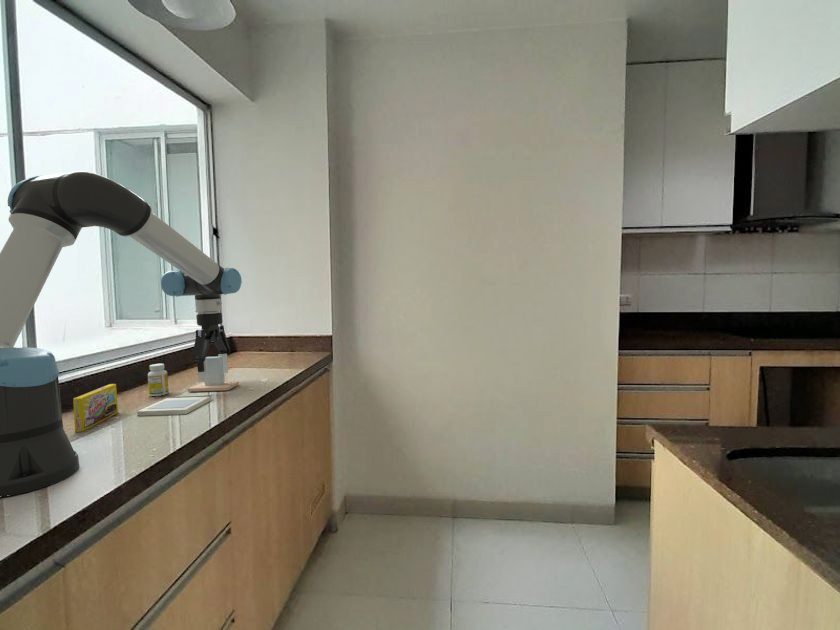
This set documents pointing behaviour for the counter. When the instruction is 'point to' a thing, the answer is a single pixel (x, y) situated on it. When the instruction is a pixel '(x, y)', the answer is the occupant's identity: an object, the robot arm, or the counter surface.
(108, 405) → the candy box
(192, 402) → the board
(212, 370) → the stub
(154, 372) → the supplement bottle
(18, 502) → the counter surface
